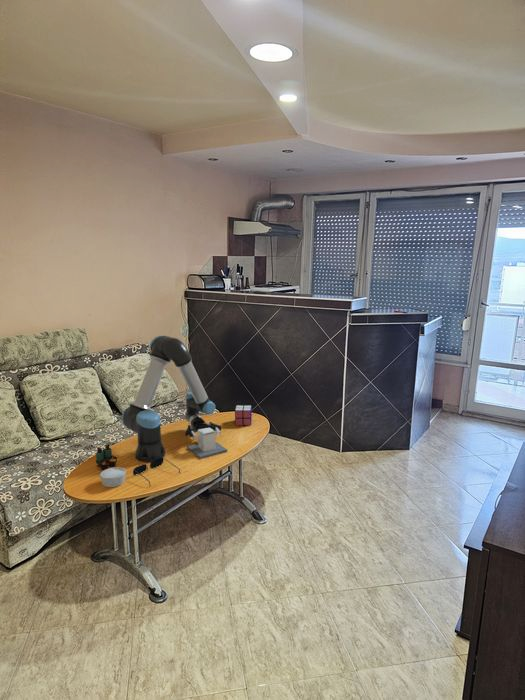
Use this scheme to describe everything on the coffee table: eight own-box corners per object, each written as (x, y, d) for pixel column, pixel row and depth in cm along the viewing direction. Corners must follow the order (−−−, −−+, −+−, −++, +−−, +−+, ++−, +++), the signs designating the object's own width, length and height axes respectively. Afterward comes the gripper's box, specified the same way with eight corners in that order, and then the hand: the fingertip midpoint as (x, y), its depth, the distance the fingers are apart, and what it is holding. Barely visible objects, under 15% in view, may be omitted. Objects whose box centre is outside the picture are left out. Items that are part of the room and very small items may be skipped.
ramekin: (130, 478, 205) (130, 467, 204) (119, 490, 194) (118, 479, 193) (108, 476, 207) (107, 466, 206) (96, 488, 196) (95, 477, 195)
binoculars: (105, 454, 208) (92, 447, 213) (105, 474, 211) (93, 467, 216) (120, 448, 215) (108, 441, 220) (120, 467, 218) (108, 460, 223)
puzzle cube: (251, 425, 271) (251, 410, 269) (235, 425, 271) (234, 410, 269) (251, 420, 281) (251, 405, 279) (236, 420, 281) (236, 405, 279)
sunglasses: (162, 464, 220) (163, 456, 218) (180, 477, 210) (181, 468, 209) (132, 477, 207) (132, 467, 206) (150, 491, 198) (150, 481, 196)
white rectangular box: (203, 451, 231) (203, 433, 229) (198, 447, 237) (197, 429, 235) (215, 448, 235) (215, 431, 233) (209, 444, 240) (209, 427, 238)
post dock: (200, 459, 225) (199, 444, 223) (187, 448, 238) (186, 434, 236) (227, 451, 234) (227, 437, 232) (213, 441, 247) (212, 428, 245)
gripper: (218, 425, 258) (229, 438, 239) (176, 432, 248) (184, 446, 229) (217, 413, 256) (229, 425, 237) (175, 419, 247) (184, 432, 228)
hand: (207, 435), depth 233 cm, fingers open, 13 cm apart
